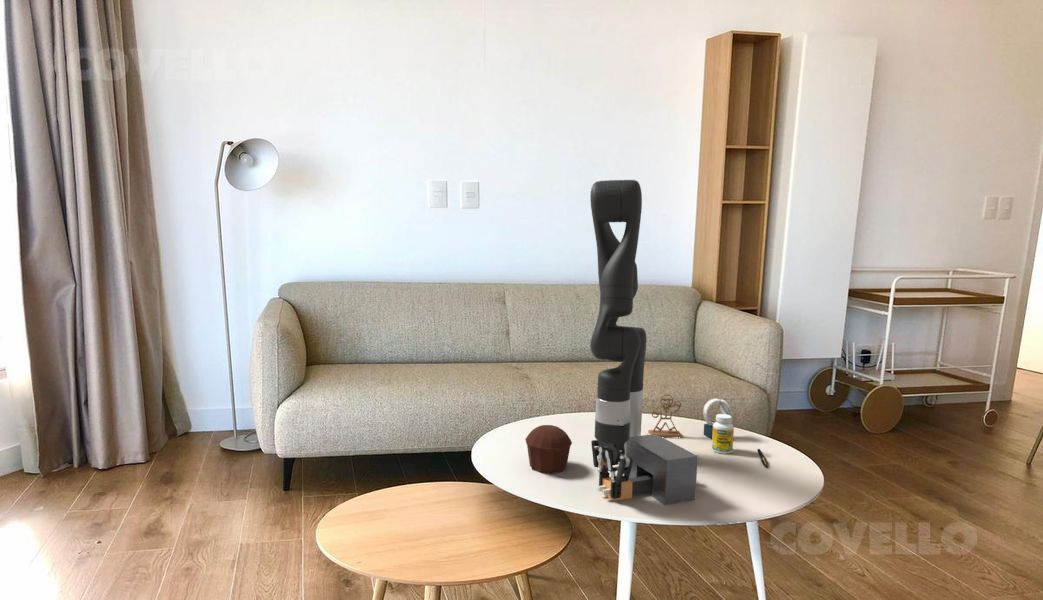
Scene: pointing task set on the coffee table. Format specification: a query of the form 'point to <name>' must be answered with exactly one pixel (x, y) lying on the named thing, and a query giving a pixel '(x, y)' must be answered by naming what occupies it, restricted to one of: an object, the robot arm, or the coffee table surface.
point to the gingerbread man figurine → (664, 432)
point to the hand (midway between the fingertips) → (609, 492)
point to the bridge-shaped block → (664, 467)
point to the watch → (709, 426)
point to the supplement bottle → (723, 434)
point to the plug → (628, 487)
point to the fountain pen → (762, 458)
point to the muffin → (548, 449)
